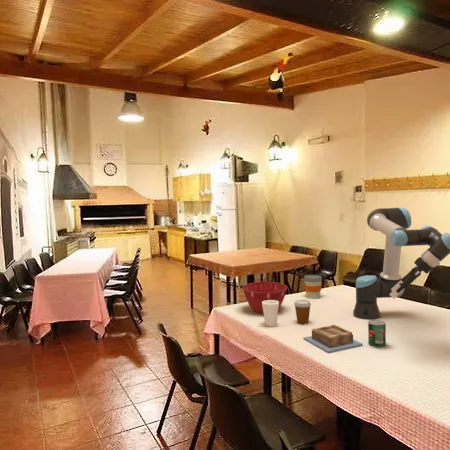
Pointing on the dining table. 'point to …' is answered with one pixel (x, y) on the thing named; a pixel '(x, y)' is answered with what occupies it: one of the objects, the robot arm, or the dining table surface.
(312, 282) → the reusable coffee cup
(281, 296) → the mixing bowl
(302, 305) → the disposable coffee cup
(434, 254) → the robot arm
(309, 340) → the board
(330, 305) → the dining table surface
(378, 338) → the canned tomato
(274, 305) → the foam cup
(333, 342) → the walnut block
